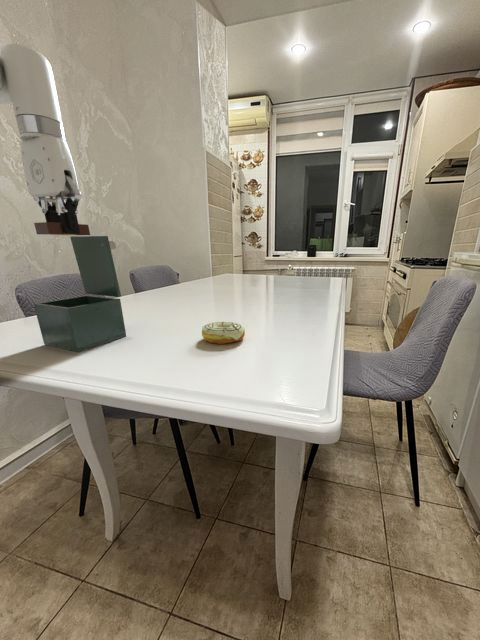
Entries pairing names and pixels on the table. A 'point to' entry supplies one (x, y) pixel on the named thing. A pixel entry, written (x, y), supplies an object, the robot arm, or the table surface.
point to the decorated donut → (223, 332)
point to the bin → (80, 322)
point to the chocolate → (58, 229)
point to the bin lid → (96, 264)
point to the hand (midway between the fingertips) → (64, 233)
